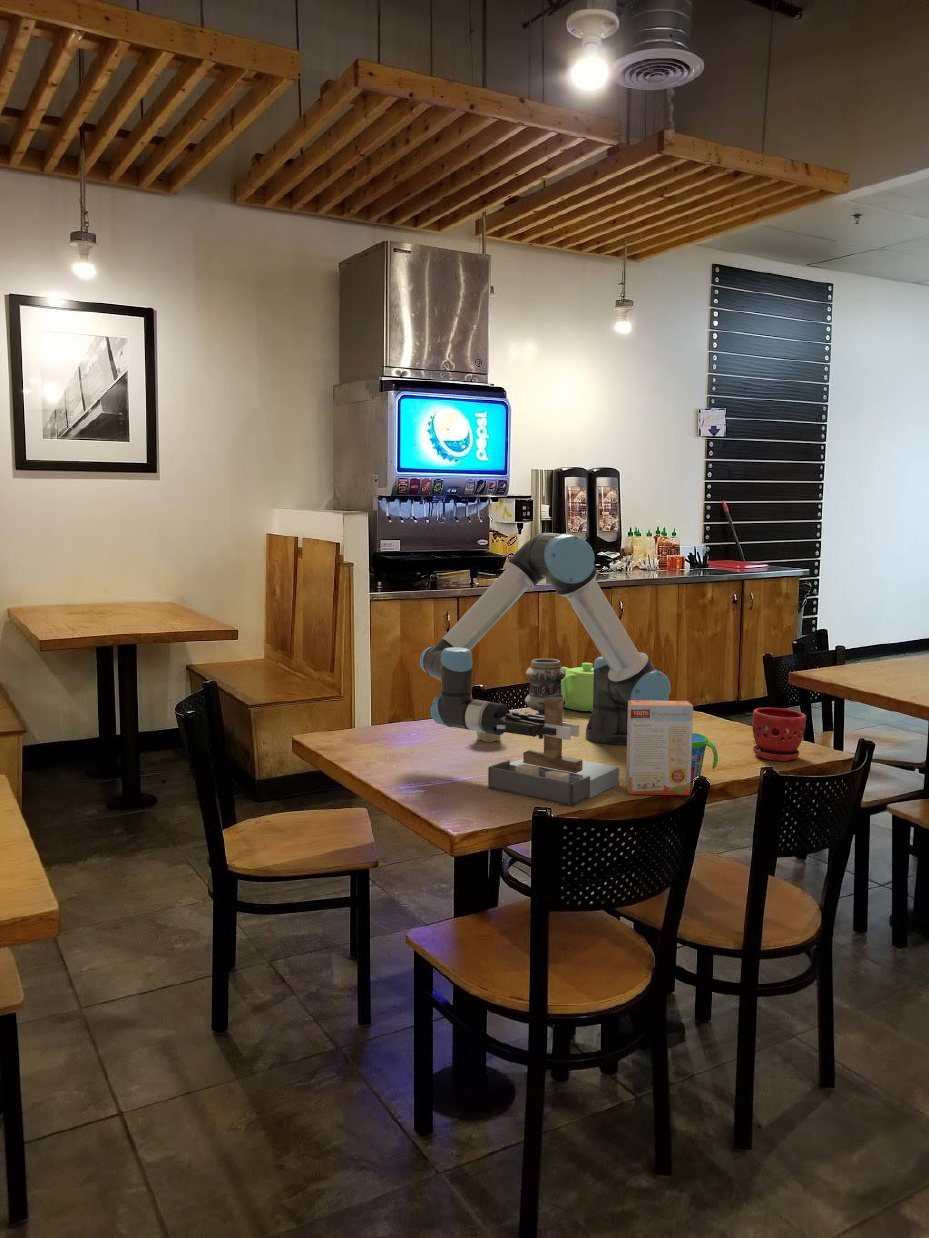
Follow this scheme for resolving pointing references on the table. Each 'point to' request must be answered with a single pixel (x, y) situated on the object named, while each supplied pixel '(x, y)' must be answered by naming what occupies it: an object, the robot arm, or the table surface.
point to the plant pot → (778, 733)
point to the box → (537, 785)
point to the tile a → (527, 769)
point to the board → (599, 775)
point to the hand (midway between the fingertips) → (574, 732)
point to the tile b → (557, 776)
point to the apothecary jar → (544, 683)
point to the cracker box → (659, 747)
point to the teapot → (578, 687)
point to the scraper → (553, 743)
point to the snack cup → (700, 754)
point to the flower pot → (488, 737)
